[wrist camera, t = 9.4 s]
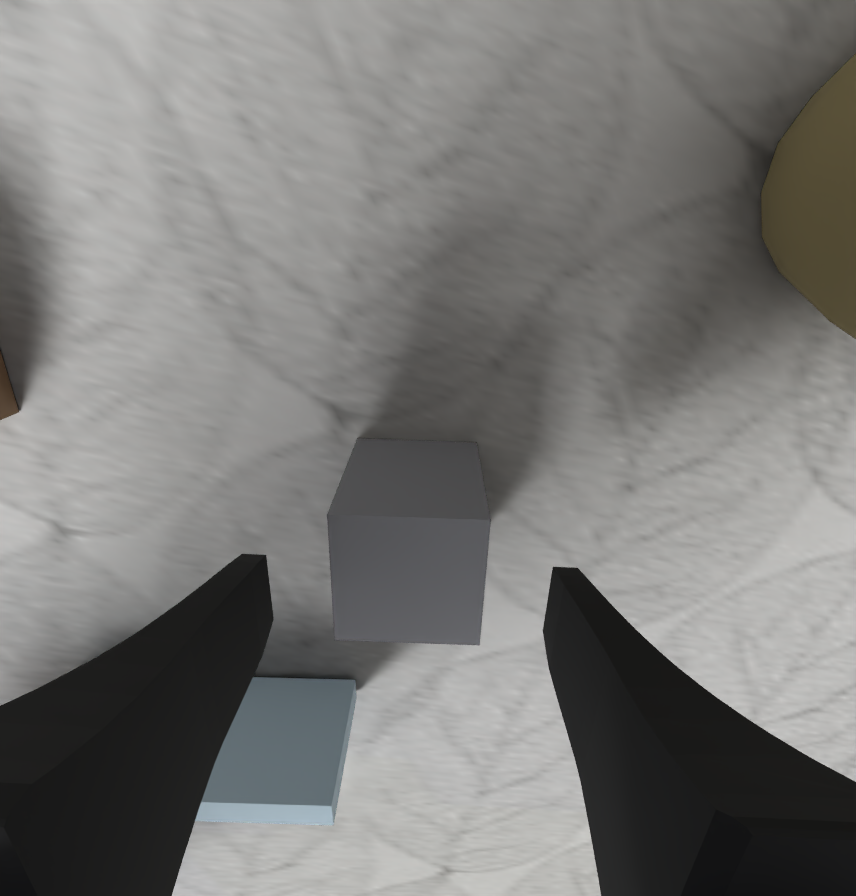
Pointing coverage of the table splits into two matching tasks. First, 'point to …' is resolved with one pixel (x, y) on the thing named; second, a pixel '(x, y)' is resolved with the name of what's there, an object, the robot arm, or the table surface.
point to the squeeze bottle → (817, 201)
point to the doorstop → (409, 543)
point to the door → (283, 754)
